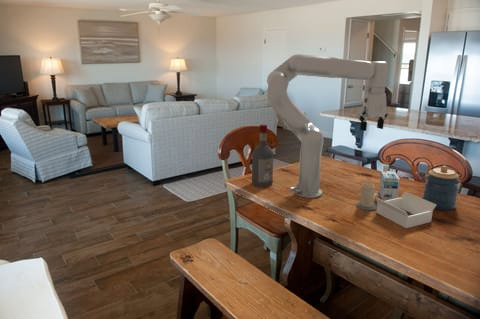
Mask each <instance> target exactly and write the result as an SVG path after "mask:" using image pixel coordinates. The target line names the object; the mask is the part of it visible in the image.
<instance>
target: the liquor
mask: <svg viewBox="0 0 480 319" xmlns="http://www.w3.org/2000/svg"><path fill="white" fill-rule="evenodd" d="M258 130H259V142H258V145H257V146H256V147H255V148H254V149H253V151H252V154H251V168H252V169H251V183H252V185H254V186H256V187H257V188H267V187H270V186H272V185H273V182H274V154H275V153H274V151H273V150H272V148H271V147H270V146H269V145H268V141H267V135H268V134H267V132H268V125H267V124H259V129H258Z"/></svg>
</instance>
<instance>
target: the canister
mask: <svg viewBox="0 0 480 319" xmlns="http://www.w3.org/2000/svg"><path fill="white" fill-rule="evenodd" d="M459 177H460V175H459V174H458V173H456V171H455V170H452V169H449V168H448V166H447V165H442V166H441V167H437V168H436V167H434V168H432V169H431V170H429V171H428V174H426V175H425V179H426V180H425V183H424V189H423V194H422V197H421V198H422V199H424V200H427V201H429V202H432V203H434V204H436V207H435V208H434V209H435V210H441V211H451V210H454V209H455V208H456V206H457V201H458V200H457V198H458V193H459V190H460V188H459V184H460V183H461V180H460V179H459Z"/></svg>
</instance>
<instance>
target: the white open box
mask: <svg viewBox="0 0 480 319" xmlns="http://www.w3.org/2000/svg"><path fill="white" fill-rule="evenodd" d="M422 198H423V197H419V196H417V195H415V194H413V193H410V192H407V191H405V190H404V191H403V193H402V194H401V196H400V197H398V198H396V199H391V200H382V198H379V197H377V196H374V199H375V200H376V202H377V204H376V206H377V208H376V214H378V215H380V216H382V217H384V218H386V219H388V220H389V221H392V222H393V223H395V224H397V225H399V226H401V227H403V228H405V229H409V228H414V227H417V226H420V225H424V224H428V223H431V222H432V219H433V212H434V208H435V207H436V204H434V203H432V202H429V201H427V200H424V199H422ZM407 212H408V213H410V215H408V213H407Z"/></svg>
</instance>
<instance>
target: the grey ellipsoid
mask: <svg viewBox="0 0 480 319" xmlns="http://www.w3.org/2000/svg"><path fill="white" fill-rule="evenodd" d="M356 207H357V208H359V209H360V210H363V211H368V212H369V211H376V210H377V204H376V203H374V202H373V206H372V207H364V206H361V205H360V201H358V202H357V203H356Z"/></svg>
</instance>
